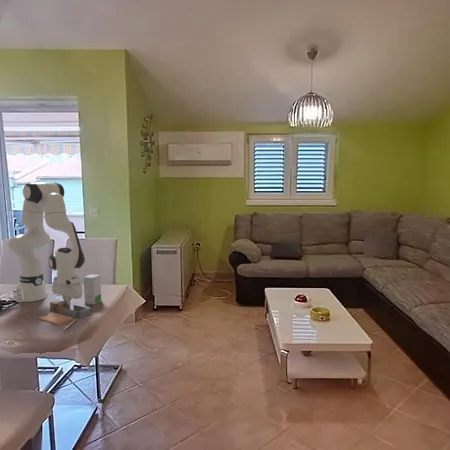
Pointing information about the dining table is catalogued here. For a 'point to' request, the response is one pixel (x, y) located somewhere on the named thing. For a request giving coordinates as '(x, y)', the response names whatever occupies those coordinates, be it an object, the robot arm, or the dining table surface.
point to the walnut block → (58, 305)
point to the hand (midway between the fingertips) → (67, 303)
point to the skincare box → (92, 289)
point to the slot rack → (77, 311)
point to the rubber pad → (56, 318)
